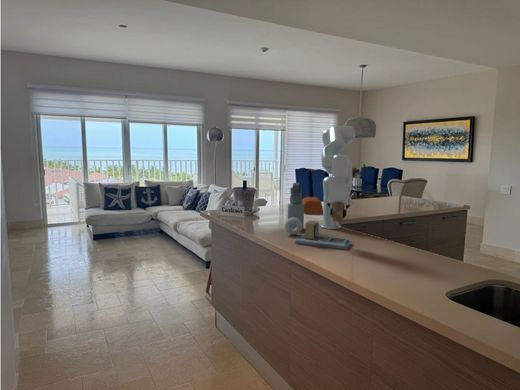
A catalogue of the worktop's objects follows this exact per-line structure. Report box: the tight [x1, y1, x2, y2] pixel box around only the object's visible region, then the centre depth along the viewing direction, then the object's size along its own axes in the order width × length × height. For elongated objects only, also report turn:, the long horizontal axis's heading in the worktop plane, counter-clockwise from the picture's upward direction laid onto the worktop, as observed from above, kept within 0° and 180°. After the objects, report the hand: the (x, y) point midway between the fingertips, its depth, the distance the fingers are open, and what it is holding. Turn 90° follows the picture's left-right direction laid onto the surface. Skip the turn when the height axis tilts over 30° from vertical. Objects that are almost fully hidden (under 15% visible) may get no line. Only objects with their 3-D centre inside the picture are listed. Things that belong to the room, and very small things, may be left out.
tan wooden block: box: [332, 203, 346, 223], centre depth 174 cm, size 5×8×9 cm, turn 155°
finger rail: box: [294, 220, 352, 251], centre depth 179 cm, size 12×26×11 cm, turn 65°
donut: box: [284, 218, 304, 236], centre depth 197 cm, size 10×4×10 cm, turn 91°
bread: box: [301, 196, 323, 216], centre depth 275 cm, size 16×27×11 cm, turn 176°
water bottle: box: [287, 182, 305, 230], centre depth 211 cm, size 10×10×28 cm
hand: (338, 216), depth 174 cm, fingers closed on tan wooden block, 5 cm apart
